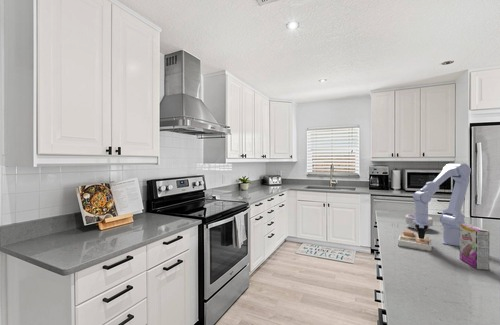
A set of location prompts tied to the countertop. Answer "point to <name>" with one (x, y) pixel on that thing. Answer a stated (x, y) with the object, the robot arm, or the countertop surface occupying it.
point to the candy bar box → (474, 246)
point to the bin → (414, 244)
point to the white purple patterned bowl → (410, 222)
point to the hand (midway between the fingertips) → (421, 238)
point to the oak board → (414, 237)
